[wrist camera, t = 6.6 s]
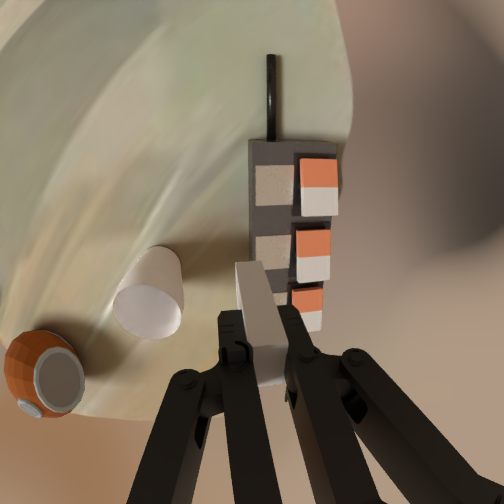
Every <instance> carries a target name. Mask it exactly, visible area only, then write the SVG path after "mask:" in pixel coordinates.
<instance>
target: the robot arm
mask: <svg viewBox="0 0 504 504" xmlns="http://www.w3.org/2000/svg"><path fill="white" fill-rule="evenodd" d="M235 271H236V294H237V305H238V310H229V311H221V313H220V314H219V316H218V335H219V351H218V354H219V361H218V363H217V364H216V366H214V367H213V368H212V369H210V370H207V371H204V372H201V373H199V372H198V371H196V370H193V369H184V370H180V371H178V372H177V373H175V374H174V375H173V376H172V378H171V380H170V383H169V385H168V388H167V390H166V393H165V396H164V398H163V401H162V404H161V406H160V409H159V412H158V414H157V417H156V420H155V423H154V426H153V428H152V431H151V434H150V436H149V439H148V442H147V445H146V448H145V451H144V454H143V456H142V459H141V462H140V465H139V468H138V471H137V473H136V476H135V479H134V482H133V485H132V488H131V491H130V494H129V497H128V500H127V503H126V504H191V503H192V498H193V494H194V490H195V485H196V482H197V477H198V473H199V469H200V464H201V460H202V456H203V451H204V447H205V443H206V438H207V435H208V430H209V426H210V421H211V417H212V416H214V415H217V414H220V413H223V412H224V416H225V426H226V436H227V445H228V454H229V463H230V471H231V479H232V486H233V494H234V501H235V504H282V500H281V495H280V491H279V486H278V482H277V477H276V472H275V468H274V463H273V458H272V453H271V449H270V444H269V439H268V434H267V429H266V425H265V419H264V415H263V410H262V404H261V399H260V394H259V389H258V387H260V386H267V385H276V384H283V383H284V377H285V381H286V384H287V386H286V393H285V402H287V400H288V402H289V405H290V409H291V413H292V417H293V420H294V424H295V428H296V432H297V435H298V439H299V443H300V447H301V450H302V454H303V458H304V461H305V465H306V469H307V473H308V476H309V480H310V484H311V487H312V491H313V495H314V499H315V502H316V504H387V503H385V502H383V501H382V500H381V499H380V497H379V494H378V492H377V489H376V486H375V484H374V481H373V478H372V476H371V473H370V471H369V468H368V466H367V463H366V460H365V458H364V455H363V453H362V450H361V447H360V445H359V442H358V440H357V437H356V435H355V432H356V434H357V435H358V436H359V438H360V439H361V440H362V442H363V443H364V444H365V446H366V447H367V448H368V450H369V451H370V452H371V454H372V455H373V456H374V458H375V459H376V460H377V462H378V463H379V464H380V466H381V467H382V468H383V470H384V471H385V472H386V473H387V475H388V476H389V477H390V479H391V480H392V481H393V482H394V484H395V485H396V486H397V488H398V489H399V490H400V491H401V493H402V494H403V495H404V497H405V498H406V499H407V500H408V501H409V503H410V504H504V486H502V485H500V484H498V483H495V482H493V481H491V480H489V479H486V478H484V477H482V476H480V475H478V474H477V473H476V472H475V471H474V469H473V468H472V467H471V466H470V465H469V464H468V463H467V461H466V460H465V459H464V458H463V457H462V456H461V455H460V454H459V453H458V451H457V450H456V449H455V448H454V447H453V446H452V445H451V443H449V441H448V440H447V439H446V438H445V437H444V436H443V435H442V434H441V433H440V431H439V430H438V429H437V428H436V427H435V426H434V425H433V423H432V422H431V421H430V420H429V419H428V418H427V417H426V416H425V415H424V414H423V413H422V411H421V410H420V409H419V408H418V407H417V406H416V405H415V404H414V403H413V402H412V400H410V398H409V397H408V396H407V395H406V394H405V393H404V392H403V391H402V390H401V388H400V387H399V386H398V385H397V384H396V383H395V382H394V381H393V380H392V379H391V378H390V377H389V376H388V374H387V373H386V372H385V371H384V370H383V369H382V368H381V367H380V366H379V365H378V364H377V363H376V362H375V360H373V358H372V357H371V356H370V355H369V354H368V353H367V352H365V351H364V350H361V349H358V348H352V349H348V350H346V351H345V352H343V354H342V356H337V355H327V354H324V353H321V351H320V350H319V349H318V348H316V347H315V346H314V345H313V343H312V341H311V338H310V336H309V333H308V331H307V329H306V326H305V324H304V322H303V319H302V317H301V314H300V312H299V310H298V309H297V308H296V307H295V306H294V305H293V304H287V305H278V306H276V303H275V300H274V297H273V294H272V291H271V288H270V285H269V282H268V279H267V276H266V273H265V270H264V267H263V264H262V261H247V262H235ZM354 431H355V432H354Z"/></svg>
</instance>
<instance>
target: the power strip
mask: <svg viewBox="0 0 504 504" xmlns="http://www.w3.org/2000/svg"><path fill="white" fill-rule="evenodd" d="M336 156H337V144H334V143H330V142H327V141H311V140H276V55H274V54H268V55H267V140H248V169H249V255H250V261H262V264H263V267H264V270H265V273H266V276H267V279H268V282H269V285H270V288H271V291H272V294H273V297H274V300H275V303H276V306H278V305H287V304H292V289H300V288H310V287H319V286H320V287H321V288H323V282H324V281H316V282H306V283H299V282H298V281H297V246H296V230H311V229H330V227H331V218H332V216H307V217H304V216H301V180H300V159H335V160H336Z"/></svg>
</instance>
